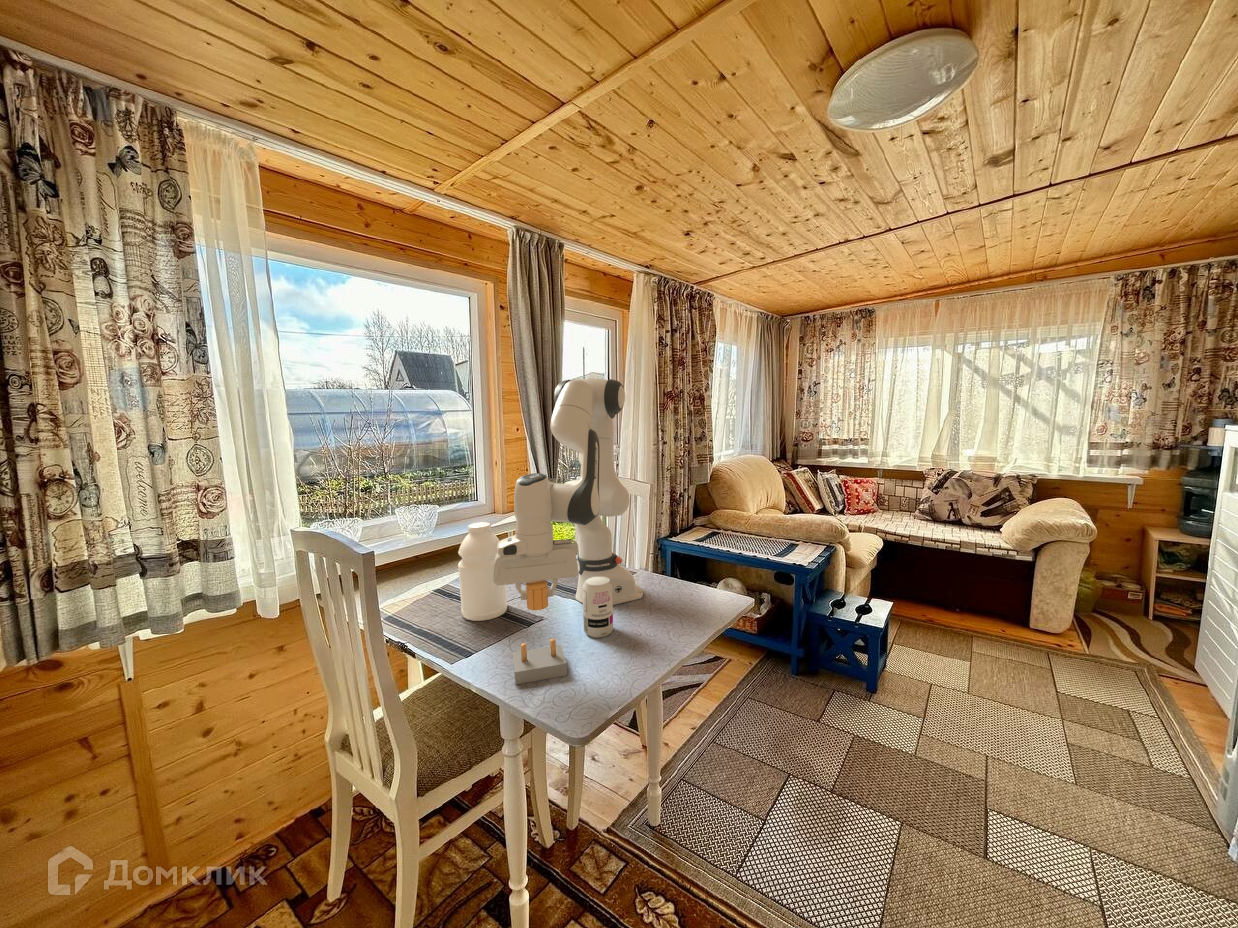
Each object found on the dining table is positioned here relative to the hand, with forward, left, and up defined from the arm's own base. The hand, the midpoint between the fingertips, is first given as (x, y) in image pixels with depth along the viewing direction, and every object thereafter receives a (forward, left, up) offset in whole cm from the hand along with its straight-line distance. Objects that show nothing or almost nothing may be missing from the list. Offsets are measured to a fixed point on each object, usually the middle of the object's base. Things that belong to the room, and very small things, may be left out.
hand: (537, 597), depth 112 cm
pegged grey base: (0, +2, -17) cm, 17 cm away
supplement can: (-18, -12, -18) cm, 27 cm away
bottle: (+13, -36, -17) cm, 42 cm away
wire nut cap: (0, 0, -2) cm, 2 cm away
